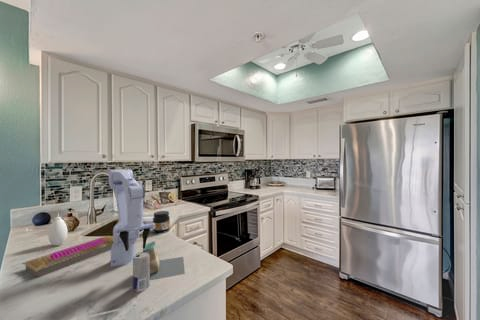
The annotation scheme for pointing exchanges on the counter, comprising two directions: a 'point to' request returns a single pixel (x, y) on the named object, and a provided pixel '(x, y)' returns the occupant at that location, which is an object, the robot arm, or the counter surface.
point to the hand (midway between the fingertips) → (135, 248)
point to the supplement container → (161, 221)
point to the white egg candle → (57, 231)
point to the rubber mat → (169, 268)
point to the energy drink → (141, 271)
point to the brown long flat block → (67, 252)
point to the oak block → (152, 256)
